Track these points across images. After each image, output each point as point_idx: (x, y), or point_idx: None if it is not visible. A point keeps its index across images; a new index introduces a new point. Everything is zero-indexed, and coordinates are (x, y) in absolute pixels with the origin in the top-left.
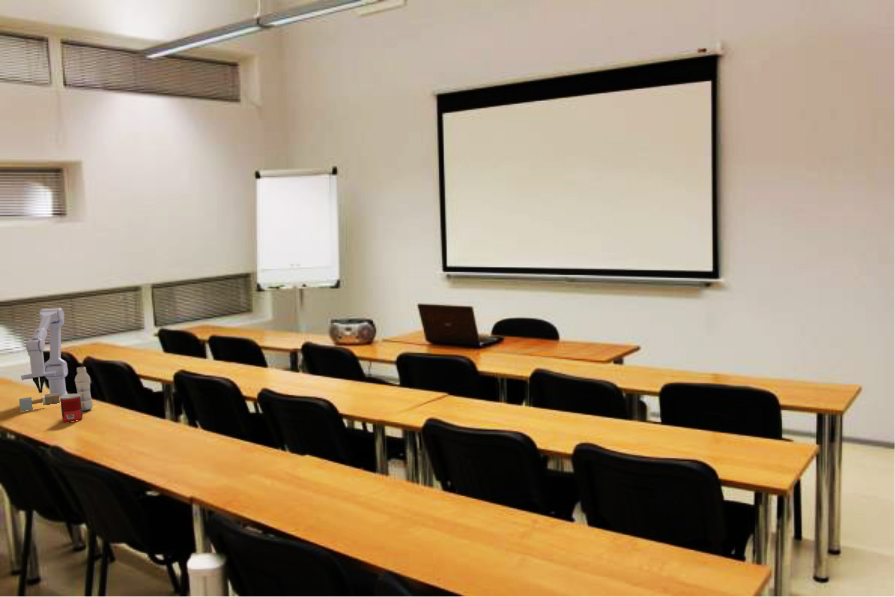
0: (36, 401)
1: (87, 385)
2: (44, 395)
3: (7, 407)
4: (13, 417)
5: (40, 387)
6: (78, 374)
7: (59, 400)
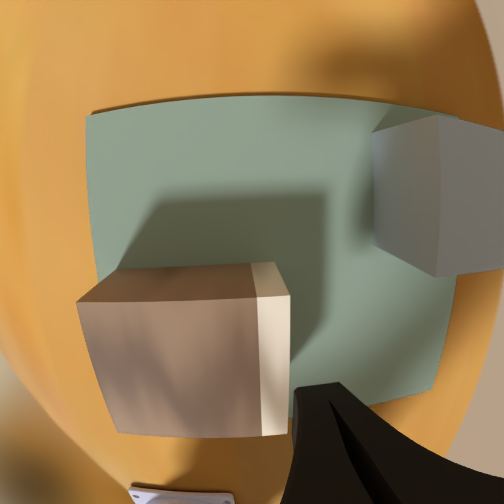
0: None
1: None
2: (262, 402)
3: (479, 376)
4: (457, 8)
5: (341, 439)
6: None
7: None
